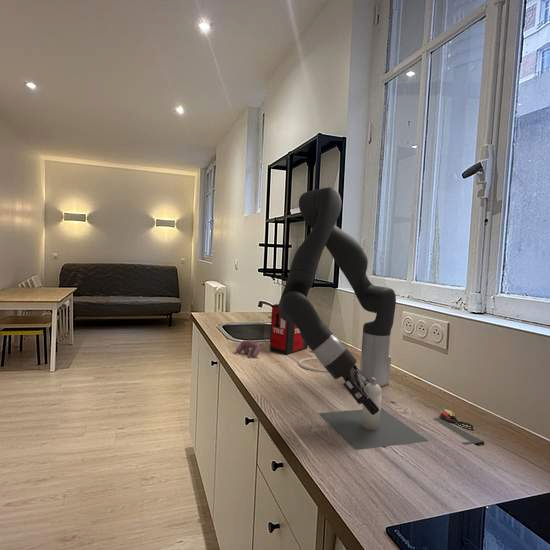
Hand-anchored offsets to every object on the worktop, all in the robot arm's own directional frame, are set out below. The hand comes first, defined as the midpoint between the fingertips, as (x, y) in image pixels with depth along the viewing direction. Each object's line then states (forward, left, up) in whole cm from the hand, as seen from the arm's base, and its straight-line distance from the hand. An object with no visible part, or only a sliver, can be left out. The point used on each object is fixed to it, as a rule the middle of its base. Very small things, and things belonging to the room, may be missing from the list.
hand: (376, 406), depth 102 cm
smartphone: (-19, +5, -7) cm, 21 cm away
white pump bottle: (+1, -1, -5) cm, 5 cm away
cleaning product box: (-6, -78, -6) cm, 78 cm away
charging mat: (+1, -1, -6) cm, 6 cm away
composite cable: (-24, +1, -7) cm, 25 cm away
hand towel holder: (-12, -54, -7) cm, 56 cm away
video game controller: (+14, -72, -6) cm, 73 cm away
